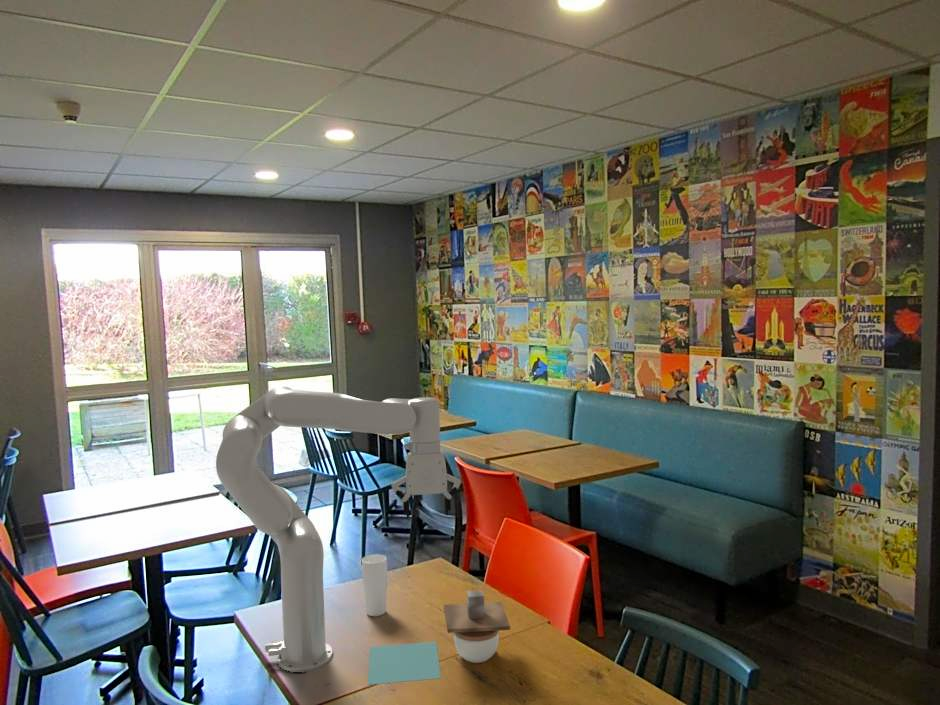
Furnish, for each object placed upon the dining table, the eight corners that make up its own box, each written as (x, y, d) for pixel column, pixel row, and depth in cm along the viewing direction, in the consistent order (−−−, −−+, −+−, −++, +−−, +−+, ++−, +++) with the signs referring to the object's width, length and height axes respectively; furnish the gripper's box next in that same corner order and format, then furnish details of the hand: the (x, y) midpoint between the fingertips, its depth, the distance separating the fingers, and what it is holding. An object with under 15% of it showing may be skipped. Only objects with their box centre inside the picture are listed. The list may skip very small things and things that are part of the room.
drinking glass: (372, 621, 171) (370, 565, 170) (358, 612, 176) (356, 558, 175) (393, 612, 175) (391, 558, 174) (379, 604, 181) (378, 552, 180)
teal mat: (367, 686, 141) (367, 684, 141) (370, 649, 157) (370, 647, 157) (441, 680, 143) (440, 678, 143) (436, 643, 159) (436, 641, 159)
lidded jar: (473, 641, 159) (472, 604, 159) (508, 655, 153) (508, 616, 152) (444, 660, 151) (443, 621, 150) (480, 675, 144) (479, 634, 144)
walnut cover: (447, 632, 144) (447, 606, 144) (443, 608, 158) (443, 584, 158) (510, 629, 145) (510, 603, 145) (500, 605, 159) (500, 581, 159)
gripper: (390, 452, 157) (392, 521, 158) (461, 448, 159) (463, 517, 160) (390, 445, 164) (392, 512, 165) (458, 442, 166) (460, 508, 167)
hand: (427, 514), depth 163 cm, fingers open, 9 cm apart
